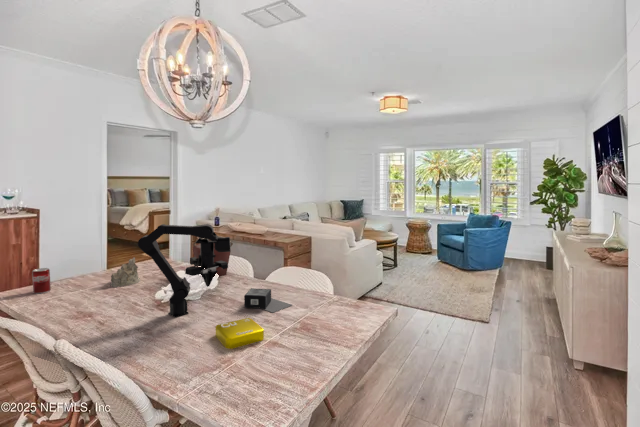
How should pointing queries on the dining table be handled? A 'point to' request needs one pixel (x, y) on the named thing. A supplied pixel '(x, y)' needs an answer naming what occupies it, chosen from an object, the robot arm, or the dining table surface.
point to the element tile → (239, 333)
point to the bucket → (219, 257)
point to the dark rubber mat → (276, 305)
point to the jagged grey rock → (125, 275)
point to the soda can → (41, 280)
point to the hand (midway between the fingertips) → (207, 286)
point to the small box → (257, 298)
